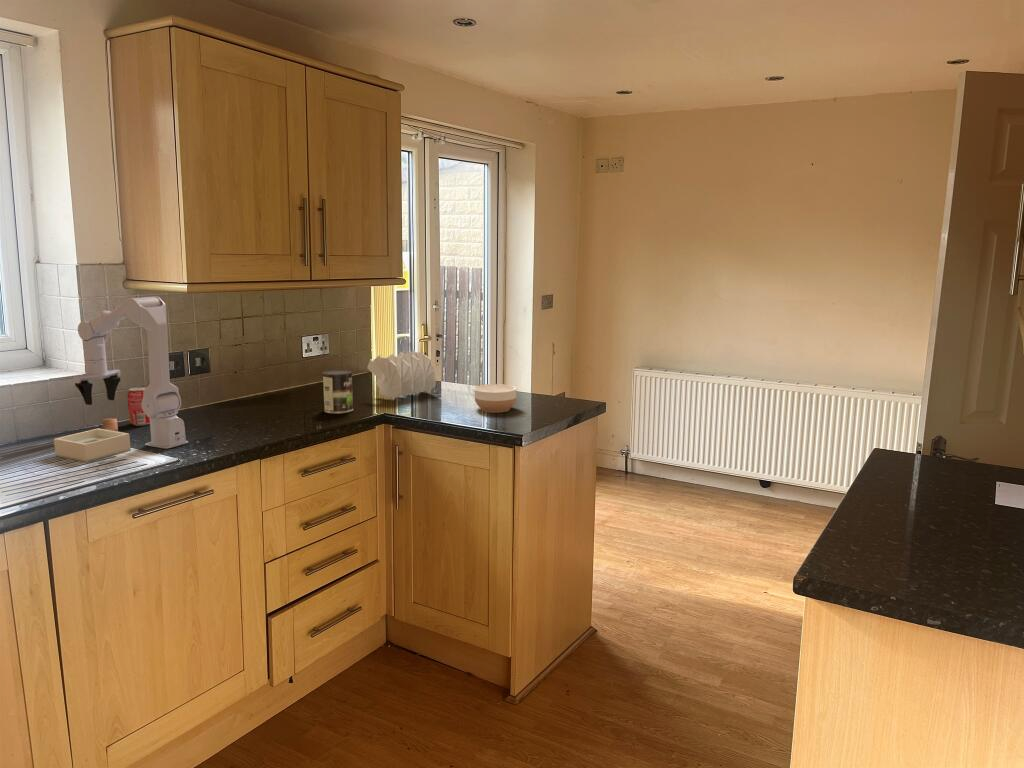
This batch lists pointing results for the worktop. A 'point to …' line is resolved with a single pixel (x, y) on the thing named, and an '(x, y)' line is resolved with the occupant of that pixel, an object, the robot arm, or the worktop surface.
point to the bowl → (495, 397)
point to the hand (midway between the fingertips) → (100, 402)
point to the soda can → (137, 407)
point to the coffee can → (337, 391)
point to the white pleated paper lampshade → (403, 374)
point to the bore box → (92, 445)
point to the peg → (110, 424)
